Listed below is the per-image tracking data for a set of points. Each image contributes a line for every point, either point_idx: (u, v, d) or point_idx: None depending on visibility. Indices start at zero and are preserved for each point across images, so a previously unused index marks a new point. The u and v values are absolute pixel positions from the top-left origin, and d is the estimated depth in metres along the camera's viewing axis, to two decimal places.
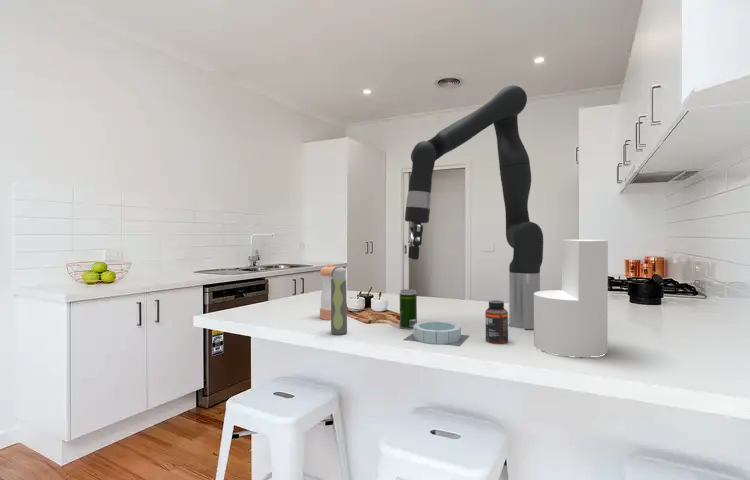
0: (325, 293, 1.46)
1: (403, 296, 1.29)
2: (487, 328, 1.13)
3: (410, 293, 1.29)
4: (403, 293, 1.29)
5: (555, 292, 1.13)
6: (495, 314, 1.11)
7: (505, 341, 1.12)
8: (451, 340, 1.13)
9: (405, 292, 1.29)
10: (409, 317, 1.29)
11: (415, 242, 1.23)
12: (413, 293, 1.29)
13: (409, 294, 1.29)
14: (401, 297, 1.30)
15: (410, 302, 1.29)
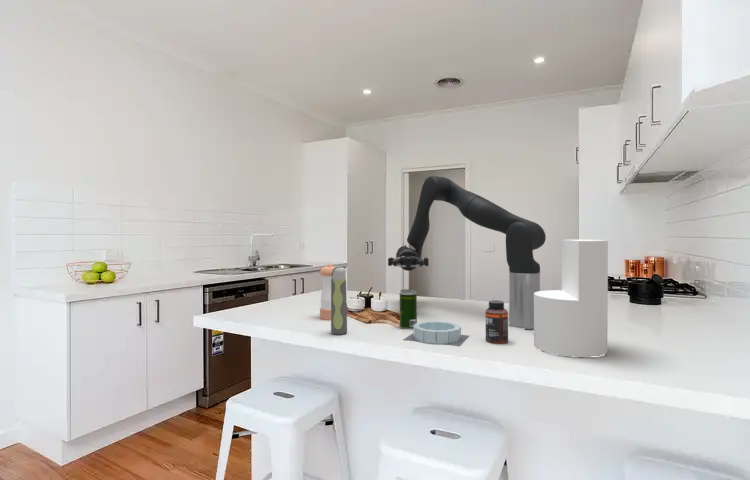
0: (325, 293, 1.46)
1: (403, 296, 1.29)
2: (487, 328, 1.13)
3: (410, 293, 1.29)
4: (403, 293, 1.29)
5: (555, 292, 1.13)
6: (495, 314, 1.11)
7: (505, 341, 1.12)
8: (451, 340, 1.13)
9: (405, 292, 1.29)
10: (409, 317, 1.29)
11: (388, 263, 1.48)
12: (413, 293, 1.29)
13: (409, 294, 1.29)
14: (401, 297, 1.30)
15: (410, 302, 1.29)
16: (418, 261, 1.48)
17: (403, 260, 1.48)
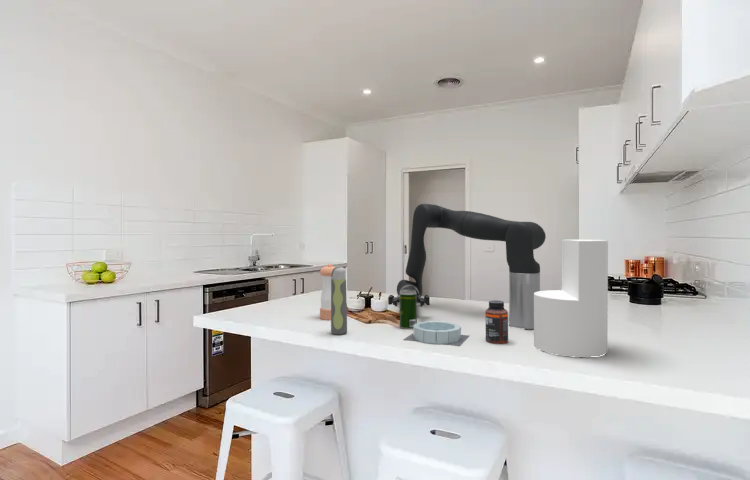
0: (325, 293, 1.46)
1: (403, 296, 1.29)
2: (487, 328, 1.13)
3: (410, 293, 1.29)
4: (403, 293, 1.29)
5: (555, 292, 1.13)
6: (495, 314, 1.11)
7: (505, 341, 1.12)
8: (451, 340, 1.13)
9: (405, 292, 1.29)
10: (409, 317, 1.29)
11: (388, 302, 1.45)
12: (413, 293, 1.29)
13: (409, 294, 1.29)
14: (401, 297, 1.30)
15: (410, 302, 1.29)
16: (419, 300, 1.44)
17: None
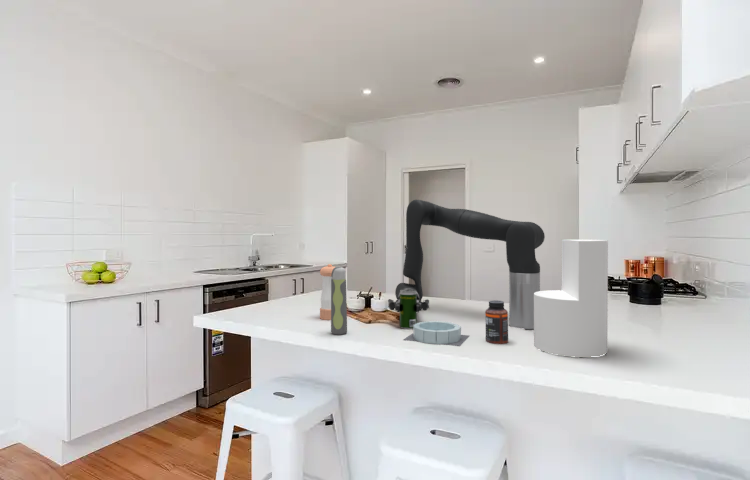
0: (325, 293, 1.46)
1: (403, 296, 1.29)
2: (487, 328, 1.13)
3: (410, 293, 1.29)
4: (403, 293, 1.29)
5: (555, 292, 1.13)
6: (495, 314, 1.11)
7: (505, 341, 1.12)
8: (451, 340, 1.13)
9: (405, 292, 1.29)
10: (409, 317, 1.29)
11: (390, 307, 1.34)
12: (413, 293, 1.29)
13: (409, 294, 1.29)
14: (401, 297, 1.30)
15: (410, 302, 1.29)
16: None
17: None
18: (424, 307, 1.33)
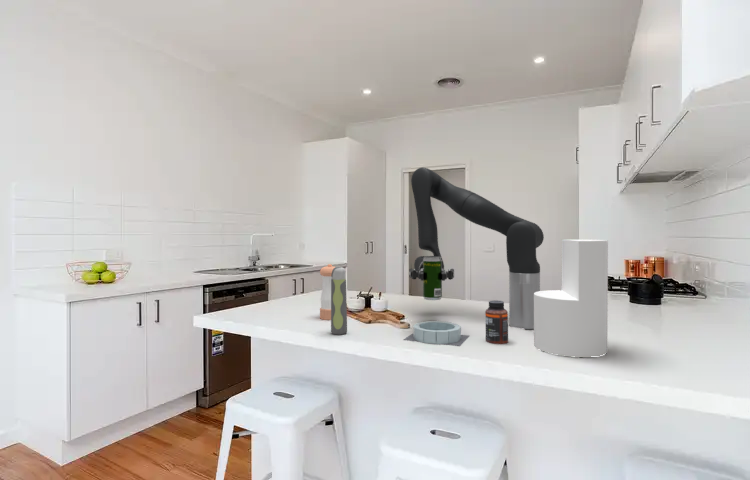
0: (325, 293, 1.46)
1: (427, 263, 1.18)
2: (487, 328, 1.13)
3: (435, 259, 1.17)
4: (427, 259, 1.18)
5: (555, 292, 1.13)
6: (495, 314, 1.11)
7: (505, 341, 1.12)
8: (451, 340, 1.13)
9: (429, 258, 1.17)
10: (434, 286, 1.17)
11: (412, 276, 1.23)
12: (438, 260, 1.18)
13: (434, 260, 1.17)
14: (425, 264, 1.18)
15: (435, 270, 1.17)
16: None
17: None
18: (450, 276, 1.21)
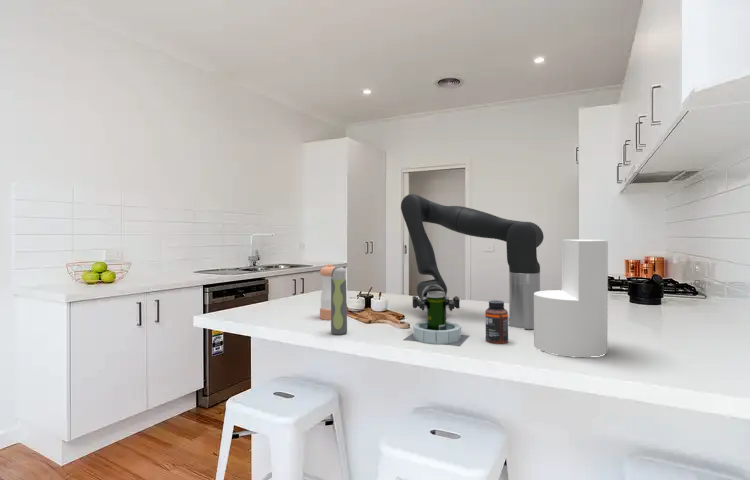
0: (325, 293, 1.46)
1: (431, 299, 1.16)
2: (487, 328, 1.13)
3: (439, 296, 1.16)
4: (431, 296, 1.16)
5: (555, 292, 1.13)
6: (495, 314, 1.11)
7: (505, 341, 1.12)
8: (451, 340, 1.13)
9: (433, 295, 1.16)
10: (439, 323, 1.16)
11: (413, 305, 1.22)
12: (442, 295, 1.16)
13: (438, 297, 1.15)
14: (429, 300, 1.16)
15: (439, 306, 1.15)
16: (447, 302, 1.22)
17: None
18: (457, 305, 1.20)
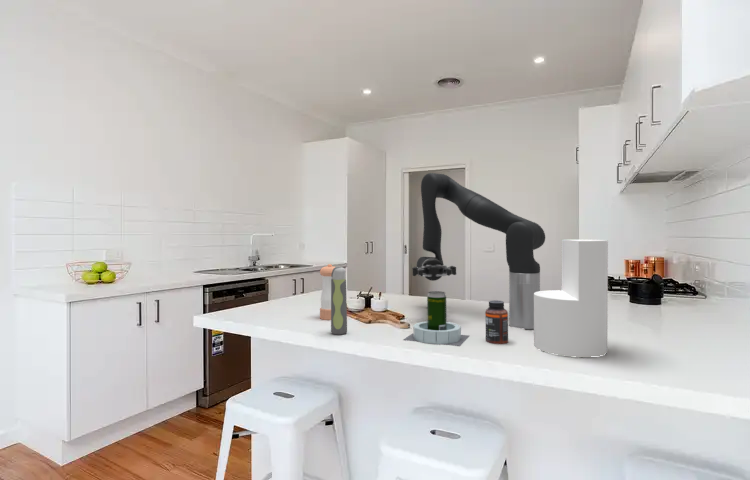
0: (325, 293, 1.46)
1: (432, 299, 1.16)
2: (487, 328, 1.13)
3: (439, 295, 1.16)
4: (432, 295, 1.16)
5: (555, 292, 1.13)
6: (495, 314, 1.11)
7: (505, 341, 1.12)
8: (451, 340, 1.13)
9: (434, 294, 1.16)
10: (439, 323, 1.16)
11: None
12: (443, 295, 1.16)
13: (438, 297, 1.16)
14: (429, 300, 1.17)
15: (440, 306, 1.16)
16: (445, 270, 1.37)
17: (428, 269, 1.38)
18: (454, 271, 1.36)
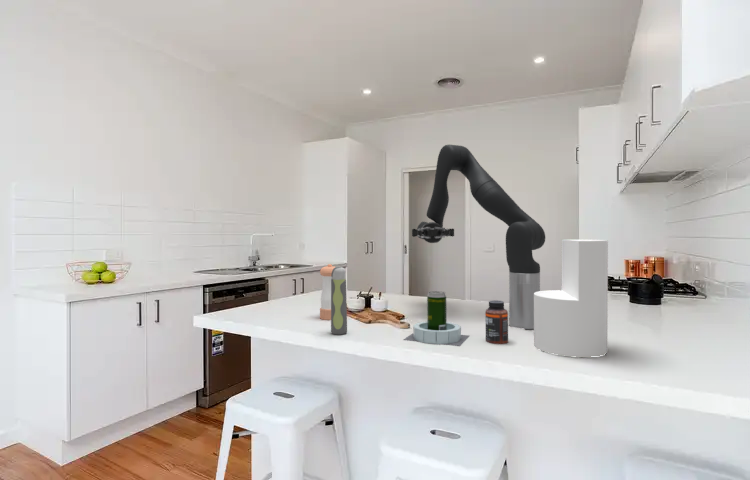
0: (325, 293, 1.46)
1: (432, 299, 1.16)
2: (487, 328, 1.13)
3: (439, 295, 1.16)
4: (432, 295, 1.16)
5: (555, 292, 1.13)
6: (495, 314, 1.11)
7: (505, 341, 1.12)
8: (451, 340, 1.13)
9: (434, 294, 1.16)
10: (439, 323, 1.16)
11: (412, 234, 1.43)
12: (443, 295, 1.16)
13: (438, 297, 1.16)
14: (429, 300, 1.17)
15: (440, 306, 1.16)
16: (443, 231, 1.42)
17: (427, 231, 1.43)
18: (452, 233, 1.41)
